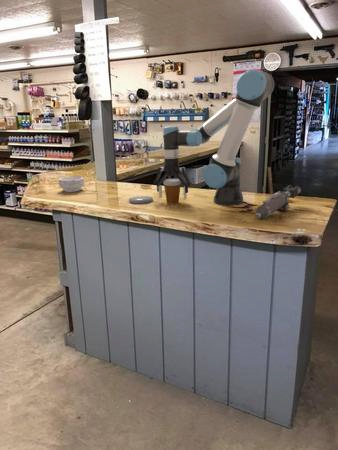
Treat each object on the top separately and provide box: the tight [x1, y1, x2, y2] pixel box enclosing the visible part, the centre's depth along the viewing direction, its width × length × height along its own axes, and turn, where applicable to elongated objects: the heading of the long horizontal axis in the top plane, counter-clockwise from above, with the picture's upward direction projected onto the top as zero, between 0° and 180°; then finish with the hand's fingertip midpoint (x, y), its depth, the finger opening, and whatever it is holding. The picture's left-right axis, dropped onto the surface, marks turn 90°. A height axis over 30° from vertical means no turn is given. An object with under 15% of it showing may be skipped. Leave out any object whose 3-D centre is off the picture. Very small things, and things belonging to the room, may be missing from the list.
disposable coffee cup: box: [162, 178, 182, 205], centre depth 192 cm, size 10×10×12 cm
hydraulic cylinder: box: [254, 184, 302, 220], centre depth 170 cm, size 7×37×10 cm, turn 137°
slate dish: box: [128, 195, 154, 205], centre depth 199 cm, size 13×13×1 cm
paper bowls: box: [58, 176, 85, 193], centre depth 231 cm, size 15×15×8 cm
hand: (172, 198), depth 194 cm, fingers open, 13 cm apart
